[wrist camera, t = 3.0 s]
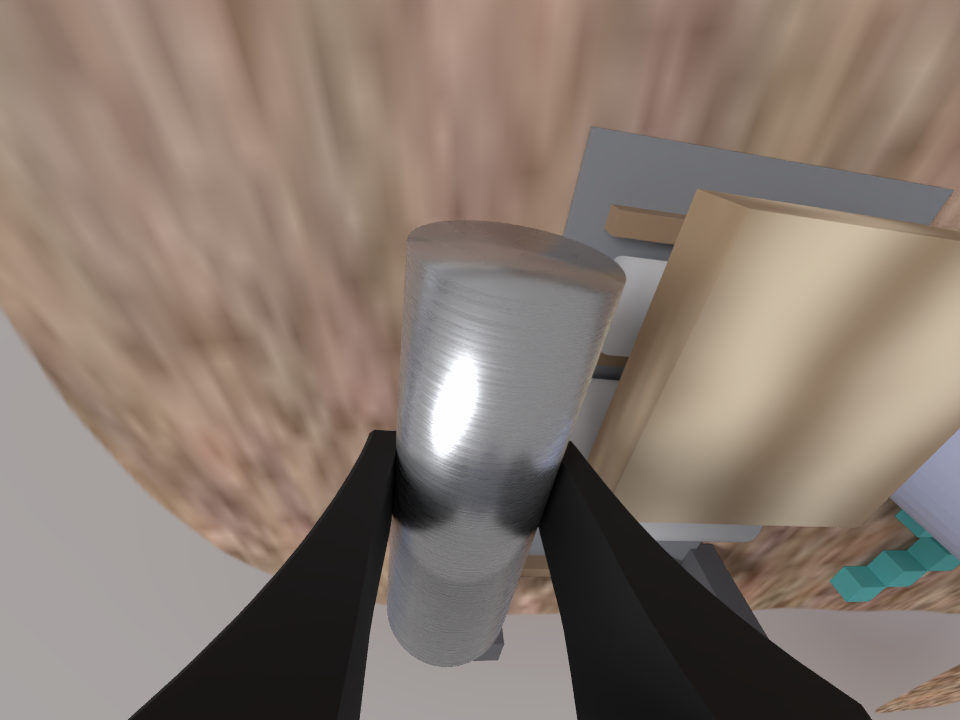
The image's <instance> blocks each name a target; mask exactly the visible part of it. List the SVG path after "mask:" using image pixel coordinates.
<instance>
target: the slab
mask: <svg viewBox="0 0 960 720" xmlns="http://www.w3.org/2000/svg"><path fill="white" fill-rule="evenodd" d="M959 429H960V230H956V229H950V228H943V227H937V226H931V225H924V224H918V223H912V222H905V221H899V220H893V219H886V218H880V217H874V216H867V215H861V214H855V213H848V212H842V211H836V210H829V209H823V208H817V207H810V206H804V205H798V204H791V203H785V202H779V201H772V200H766V199H760V198H753V197H747V196H741V195H735V194H728V193H722V192H716V191H709V190H703V189H697V190H696V193H695V195H694V197H693V200H692V202H691V205H690V207H689V210H688V212H687V215H686V217H685V220H684V222H683V225H682V227H681V230H680V232H679V235H678V237H677V239H676V242H675V244H674V247H673V249H672V252H671V254H670V257H669V259H668V262H667V264H666V267H665V269H664V272H663V274H662V277H661V279H660V281H659V284H658V286H657V289H656V291H655V294H654V296H653V299H652V301H651V304H650V306H649V309H648V311H647V314H646V316H645V319H644V321H643V323H642V326H641V328H640V331H639V333H638V336H637V338H636V341H635V343H634V346H633V348H632V351H631V353H630V356H629V358H628V361H627V363H626V365H625V368H624V370H623V373H622V375H621V378H620V380H619V383H618V385H617V388H616V390H615V393H614V395H613V398H612V400H611V403H610V405H609V407H608V410H607V412H606V415H605V417H604V420H603V422H602V425H601V427H600V430H599V432H598V435H597V437H596V440H595V442H594V445H593V447H592V449H591V452H590V454H589V457H588V459H587V461H588V463H589V464H590V465H591V466H592V468H593V469H594V470H595V471H596V473H597V474H598V475H599V476H600V478H601V479H602V480H603V481H604V483H605V484H606V485H607V486H608V487H609V489H610V490H611V491H612V492H613V493H614V495H615V496H616V497H617V498H618V499H619V501H620V502H621V503H622V504H623V505H624V506H625V508H626V509H627V510H628V511H629V512H630V513H631V514H632V516H633V517H634V518H635V519H636V520H637V521H638V522H655V523H693V524H731V525H770V526H808V527H846V528H859V527H860V526H861V525H862V524H863V523H864V522H865V521H866V520H867V519H868V518H869V517H870V516H871V515H872V514H873V513H874V512H875V511H876V510H877V509H878V508H879V507H880V506H881V505H882V504H883V503H884V502H885V501H886V500H887V499H888V498H889V497H890V496H891V495H892V494H893V493H894V492H895V491H896V490H897V489H898V488H900V487H901V486H902V485H903V484H904V483H905V482H906V481H907V480H908V479H909V478H910V477H911V476H912V475H913V474H914V473H915V472H916V471H917V470H918V469H919V468H920V467H921V466H922V465H923V464H924V463H925V462H926V461H927V460H928V459H929V458H930V457H931V456H932V455H933V454H934V453H935V452H936V451H937V450H938V449H939V448H940V447H941V446H942V445H943V444H944V443H945V442H946V441H947V440H948V439H950V438H951V437H952V436H953V435H954V434H955V433H956V432H957V431H958V430H959Z"/></svg>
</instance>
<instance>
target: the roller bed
mask: <svg viewBox="0 0 960 720" xmlns="http://www.w3.org/2000/svg"><path fill="white" fill-rule="evenodd" d="M697 189H703V190H709V191H716V192H722V193H728V194H735V195H741V196H747V197H753V198H760V199H766V200H772V201H779V202H785V203H791V204H798V205H804V206H810V207H817V208H823V209H829V210H836V211H842V212H848V213H855V214H861V215H867V216H874V217H880V218H886V219H893V220H899V221H905V222H912V223H918V224H924V225H929V224H930V223H931V222H932V220H933V219H934V217H935V216H936V215H937V213H938V212H939V210H940V209H941V208H942V206H943V205H944V203H945V202H946V201H947V199H948V198H949V196H950V195H951V194H952V192H953V191H954V190H951V189H945V188H940V187H934V186H928V185H923V184H917V183H911V182H906V181H900V180H894V179H889V178H883V177H877V176H871V175H866V174H860V173H854V172H849V171H843V170H837V169H831V168H826V167H820V166H814V165H809V164H803V163H797V162H792V161H786V160H780V159H774V158H769V157H763V156H757V155H752V154H746V153H740V152H734V151H729V150H723V149H717V148H712V147H706V146H700V145H695V144H689V143H683V142H677V141H672V140H666V139H660V138H655V137H649V136H643V135H637V134H632V133H626V132H620V131H615V130H609V129H603V128H598V127H592V126H591V130H590V133H589V137H588V141H587V145H586V149H585V153H584V157H583V161H582V165H581V168H580V172H579V176H578V180H577V184H576V188H575V192H574V196H573V200H572V203H571V207H570V211H569V215H568V219H567V223H566V227H565V231H564V235H563V237H566V238H569V239H572V240H575V241H578V242H580V243H582V244H585V245H587V246H589V247H592V248H594V249H596V250H598V251H600V252H601V253H603V254H605V255H607V256H608V257H610V258H611V259H612V260H614V261H615V262H616V263H617V264H618V265H619V266H620V267H621V268H622V269H623V271H624V272H625V275H626V283H625V286H624V289H623V292H622V294H621V297H620V300H619V303H618V306H617V308H616V311H615V314H614V317H613V319H612V322H611V325H610V328H609V331H608V333H607V336H606V339H605V342H604V345H603V347H602V350H601V353H600V356H599V358H598V361H597V364H596V367H595V370H594V372H593V375H592V378H591V381H590V384H589V386H588V389H587V392H586V395H585V397H584V400H583V403H582V406H581V409H580V411H579V414H578V417H577V420H576V423H575V425H574V428H573V431H572V434H571V436H570V439H569V441H572V442H573V444H574V445H575V446H576V447H577V449H578V450H579V451H580V452H581V454H582V455H583V456H584V457H585V459H586V460H587V459H588V457H589V454H590V452H591V449H592V447H593V445H594V442H595V440H596V437H597V435H598V432H599V430H600V427H601V425H602V422H603V420H604V417H605V415H606V412H607V410H608V407H609V405H610V403H611V400H612V398H613V395H614V393H615V390H616V388H617V385H618V383H619V380H620V378H621V375H622V373H623V370H624V368H625V365H626V363H627V361H628V358H629V356H630V353H631V351H632V348H633V346H634V343H635V341H636V338H637V336H638V333H639V331H640V328H641V326H642V323H643V321H644V319H645V316H646V314H647V311H648V309H649V306H650V304H651V301H652V299H653V296H654V294H655V291H656V289H657V286H658V284H659V281H660V279H661V277H662V274H663V272H664V269H665V267H666V264H667V262H668V259H669V257H670V254H671V252H672V249H673V247H674V244H675V242H676V239H677V237H678V235H679V232H680V230H681V227H682V225H683V222H684V220H685V217H686V215H687V212H688V210H689V207H690V205H691V202H692V200H693V197H694V195H695V193H696V190H697ZM639 523H640V524H641V525H642V526H643V528H644V529H645V530H646V531H647V532H648V533H649V534H650V535H651V536H652V537H653V538H654V539H655V540H656V541H657V542H658V543H659V544H660V545H661V546H662V547H663V548H664V549H665V550H666V551H667V552H668V553H669V554H670V555H671V556H672V557H673V558H674V559H675V560H676V561H677V562H678V563H679V564H680V565H681V566H682V567H683V568H684V569H685V570H686V571H688V572H689V573H690V574H691V575H692V576H693V577H694V578H695V579H696V580H697V581H698V582H700V583H701V584H702V585H703V586H704V587H705V588H706V589H707V590H709V591H710V592H711V593H712V594H713V595H714V596H716V597H717V598H718V599H719V600H720V601H722V602H723V603H724V604H725V605H726V606H727V607H729V608H730V609H731V610H732V611H733V612H735V613H736V614H737V615H738V616H739V617H741V618H742V619H743V620H745V621H746V622H747V623H748V624H750V625H751V626H752V627H753V628H755V629H756V630H757V631H758V632H760V633H761V634H762V635H764V636H765V637H766V638H768V637H767V635H766V634H765V632H764V630H763V629H762V627H761V626H760V624H759V622H758V620H757V619H756V617H755V615H754V614H753V612H752V610H751V609H750V607H749V605H748V604H747V602H746V600H745V599H744V597H743V595H742V594H741V592H740V590H739V589H738V587H737V585H736V584H735V582H734V580H733V579H732V577H731V575H730V574H729V572H728V570H727V569H726V567H725V565H724V564H723V562H722V560H721V559H720V557H719V555H718V554H717V552H716V550H715V549H714V547H713V545H712V544H700V543H701V542H702V541H704V542H749V541H751V540H753V539H755V538H756V537H757V535H758V534H759V532H760V530H761V528H762V525H731V524H693V523H655V522H639ZM520 577H551V576H550V572H549V568H548V564H547V560H546V556H545V552H544V548H543V544H542V540H541V536H540V532H539V528H537V531H536V534H535V537H534V539H533V542H532V545H531V548H530V551H529V553H528V556H527V559H526V562H525V565H524V567H523V570H522V573H521V576H520ZM503 646H504V640H503V632H502V628H501V631H500V633H499V635H498V637H497V638H496V640H495V642H494V643H493V644H492V645H491V647H490V648H489V649H488V650H487V651H486V652H485V653H484V654H482V655H481V656H479V657H478V658H477V659H475V660H473V661H484V660H498V659H499V656H500V653H501V651H502V648H503Z"/></svg>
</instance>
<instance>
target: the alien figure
mask: <svg viewBox="0 0 960 720" xmlns="http://www.w3.org/2000/svg"><path fill="white" fill-rule="evenodd" d="M895 517H896V518H897V519H898V520H899V521H900V522H902V523H903V524H904V525H905V526H906V527H907V528H908V529H909V530H910V531H911V532H912V533H913V534H914V535H915V536H916V537H921V538H920V539H919V540H918V541H917V542H916V543H914V544H913V545H912V546H911V547H910V548H909V549H908V550H891V551H883V552H882V553H881V554H879V555H878V556H877V557H876V558H875V559H874V560H873V561H872V562H871V563H870V564H869V565H868V566H844V567H843V568H842V569H841V570H840V571H839V572H838V573H837V574H836V575H835V576H834V577H833V578H832V579H831V580H830V582H831V583H832V585H833V586H834V587H835V588H836V590H837V591H838V592H839V593H840V595H841V596H842V597H843V598H844V600H845V601H846V602H862V601H870V600H871V599H873V598H874V597H875V596H876V595H877V594H878V593H880V592H881V591H882V590H883V589H884V588H885V587H903V586H910V585H912V584H913V583H914V582H915V581H917V580H918V579H919V578H920V577H921V576H923V575H924V574H925V573H926V572H927V571H952V570H953V569H954V568H956V567H957V566H958V565H959V564H960V561H959V560H958V559H957V558H956V557H955V556H954V555H952V554H951V553H950V552H949V551H948V550H947V549H946V548H945V547H944V546H943V545H941V544H940V543H939V542H938V541H937V540H936V539H935V538H934V537H933V536H931V535H930V534H929V533H928V532H927V531H926V530H925V529H924V528H923V527H922V526H920V525H919V524H918V523H917V522H916V521H915V520H914V519H913V518H912V517H910V516H909V515H908V514H907V513H906V512H905V511H904V510H903V509H902V510H901V511H900V512H899V513H898V514H897V515H896V516H895Z"/></svg>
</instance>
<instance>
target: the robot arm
mask: <svg viewBox="0 0 960 720" xmlns="http://www.w3.org/2000/svg"><path fill="white" fill-rule="evenodd" d="M395 458H396V431H384V430H374V431H372V432H371V433H370V434H369V436H368V439H367V441H366V444H365V446H364V448H363V450H362V452H361V454H360V456H359V458H358V459H357V461H356V463H355V465H354V466H353V468H352V470H351V472H350V473H349V475H348V477H347V478H346V480H345V481H344V483H343V485H342V486H341V488H340V489H339V491H338V493H337V494H336V496H335V497H334V499H333V500H332V502H331V503H330V504H329V506H328V507H327V509H326V510H325V511H324V513H323V514H322V516H321V517H320V518H319V520H318V521H317V523H316V524H315V525H314V527H313V528H312V530H311V531H310V532H309V534H308V535H307V536H306V537H305V539H304V540H303V541H302V543H301V544H300V545H299V546H298V548H297V549H296V550H295V551H294V553H293V554H292V555H291V556H290V557H289V559H288V560H287V561H286V562H285V563H284V565H283V566H282V567H281V568H280V569H279V571H278V572H277V573H276V574H275V575H274V576H273V577H272V579H271V580H270V581H269V582H268V583H267V584H266V585H265V586H264V587H263V589H262V590H261V591H260V592H259V593H258V594H257V595H256V596H255V598H254V599H253V600H252V601H251V602H250V603H249V604H248V605H247V606H246V607H245V608H244V609H243V611H241V612H240V614H239V615H238V616H237V617H236V618H235V619H234V620H233V621H232V622H231V623H230V624H229V625H228V626H227V627H226V628H225V629H224V630H223V631H222V632H221V633H220V634H219V635H218V636H217V637H216V638H215V639H214V640H213V641H212V642H211V643H210V644H209V645H208V646H207V647H206V648H205V649H204V650H203V651H202V652H201V653H200V654H199V655H198V656H197V657H196V658H194V659H193V661H191V662H190V663H189V664H188V665H187V666H186V667H185V668H184V669H183V670H182V671H181V672H180V673H179V674H178V675H177V676H176V677H174V678H173V679H172V680H171V681H170V682H169V683H168V684H167V685H166V686H164V687H163V688H162V689H161V690H160V691H159V692H158V693H157V694H156V695H155V696H153V697H152V698H151V699H150V700H149V701H148V702H147V703H146V704H145V705H144V706H142V707H141V708H140V709H139V710H138V711H137V712H136V713H135V714H134V715H132V716H131V717H130V718H129V719H128V720H359V719H360V710H361V701H362V693H363V685H364V677H365V668H366V660H367V651H368V643H369V635H370V628H371V623H372V617H373V611H374V606H375V601H376V596H377V591H378V586H379V581H380V576H381V572H382V567H383V562H384V557H385V552H386V547H387V542H388V537H389V532H390V527H391V521H392V510H393V492H394V475H395ZM890 498H891V499H892V500H893V501H894V502H895V503H896V504H897V505H898V506H899V507H901V508H902V509H903V510H904V511H905V512H906V513H907V514H908V515H909V516H910V517H912V518H913V519H914V520H915V521H916V522H917V523H918V524H919V525H920V526H922V527H923V528H924V529H925V530H926V531H927V532H928V533H929V534H930V535H931V536H933V537H934V538H935V539H936V540H937V541H938V542H939V543H940V544H941V545H943V546H944V547H945V548H946V549H947V550H948V551H949V552H950V553H951V554H952V555H954V556H955V557H956V558H957V559H958V560H959V561H960V429H959V430H958V431H957V432H956V433H955V434H954V435H953V436H952V437H951V438H950V439H948V440H947V441H946V442H945V443H944V444H943V445H942V446H941V447H940V448H939V449H938V450H937V451H936V452H935V453H934V454H933V455H932V456H931V457H930V458H929V459H928V460H927V461H926V462H925V463H924V464H923V465H922V466H921V467H920V468H919V469H918V470H917V471H916V472H915V473H914V474H913V475H912V476H911V477H910V478H909V479H908V480H907V481H906V482H905V483H904V484H903V485H902V486H901V487H900V488H898V489H897V490H896V491H895V492H894V493H893V494H892V495H891V496H890ZM538 528H539V532H540V536H541V540H542V544H543V548H544V552H545V556H546V560H547V564H548V568H549V572H550V576H551V579H552V583H553V587H554V591H555V595H556V599H557V603H558V607H559V611H560V615H561V620H562V624H563V629H564V634H565V641H566V646H567V653H568V659H569V665H570V671H571V677H572V685H573V692H574V699H575V706H576V713H577V719H578V720H872V719H871V718H870V716H869V715H868V713H867V712H866V711H865V709H864V708H863V706H862V705H861V704H859V703H858V702H857V701H855V700H854V699H852V698H851V697H849V696H848V695H846V694H845V693H844V692H842V691H841V690H839V689H838V688H836V687H835V686H833V685H832V684H830V683H829V682H828V681H826V680H825V679H823V678H822V677H820V676H819V675H817V674H816V673H814V672H813V671H812V670H810V669H808V668H807V667H806V666H804V665H803V664H801V663H800V662H799V661H797V660H796V659H794V658H793V657H792V656H790V655H789V654H788V653H786V652H785V651H784V650H782V649H781V648H780V647H778V646H777V645H776V644H774V643H773V642H771V641H770V640H769V639H768V638H766V637H765V636H764V635H762V634H761V633H760V632H758V631H757V630H756V629H755V628H753V627H752V626H751V625H750V624H748V623H747V622H746V621H745V620H743V619H742V618H741V617H739V616H738V615H737V614H736V613H735V612H733V611H732V610H731V609H730V608H729V607H727V606H726V605H725V604H724V603H723V602H722V601H720V600H719V599H718V598H717V597H716V596H714V595H713V594H712V593H711V592H710V591H709V590H707V589H706V588H705V587H704V586H703V585H702V584H701V583H700V582H698V581H697V580H696V579H695V578H694V577H693V576H692V575H691V574H690V573H689V572H688V571H686V570H685V569H684V568H683V567H682V566H681V565H680V564H679V563H678V562H677V561H676V560H675V559H674V558H673V557H672V556H671V555H670V554H669V553H668V552H667V551H666V550H665V549H664V548H663V547H662V546H661V545H660V544H659V543H658V542H657V541H656V540H655V539H654V538H653V537H652V536H651V535H650V534H649V533H648V532H647V531H646V530H645V529H644V528H643V526H642V525H641V524H640V523H639V522H638V521H637V520H636V519H635V518H634V517H633V516H632V514H631V513H630V512H629V511H628V510H627V509H626V508H625V506H624V505H623V504H622V503H621V502H620V501H619V499H618V498H617V497H616V496H615V495H614V493H613V492H612V491H611V490H610V489H609V487H608V486H607V485H606V484H605V483H604V481H603V480H602V479H601V478H600V476H599V475H598V474H597V473H596V471H595V470H594V469H593V468H592V466H591V465H590V464H589V463H588V461H587V460H586V459H585V457H584V456H583V455H582V454H581V452H580V451H579V450H578V449H577V447H576V446H575V445H574V444H573V442H572V441H569V442H568V445H567V448H566V450H565V453H564V456H563V459H562V462H561V464H560V467H559V470H558V473H557V475H556V478H555V481H554V484H553V487H552V489H551V492H550V495H549V498H548V501H547V503H546V506H545V509H544V512H543V514H542V517H541V520H540V523H539V526H538Z"/></svg>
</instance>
